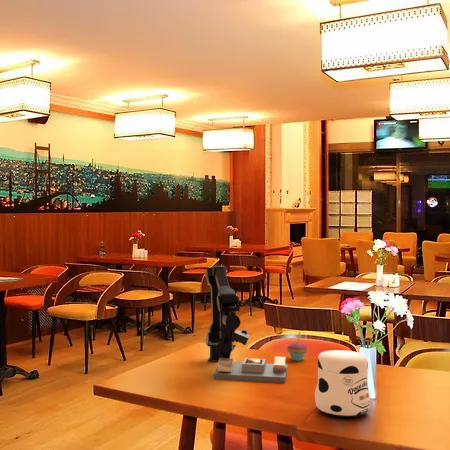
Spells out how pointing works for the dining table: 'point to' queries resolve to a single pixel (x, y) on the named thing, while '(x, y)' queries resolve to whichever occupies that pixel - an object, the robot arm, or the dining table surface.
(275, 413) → the dining table surface
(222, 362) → the tan rectangular prism
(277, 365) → the rocker
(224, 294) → the robot arm
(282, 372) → the panel
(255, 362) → the button
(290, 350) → the cupcake
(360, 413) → the milk container
